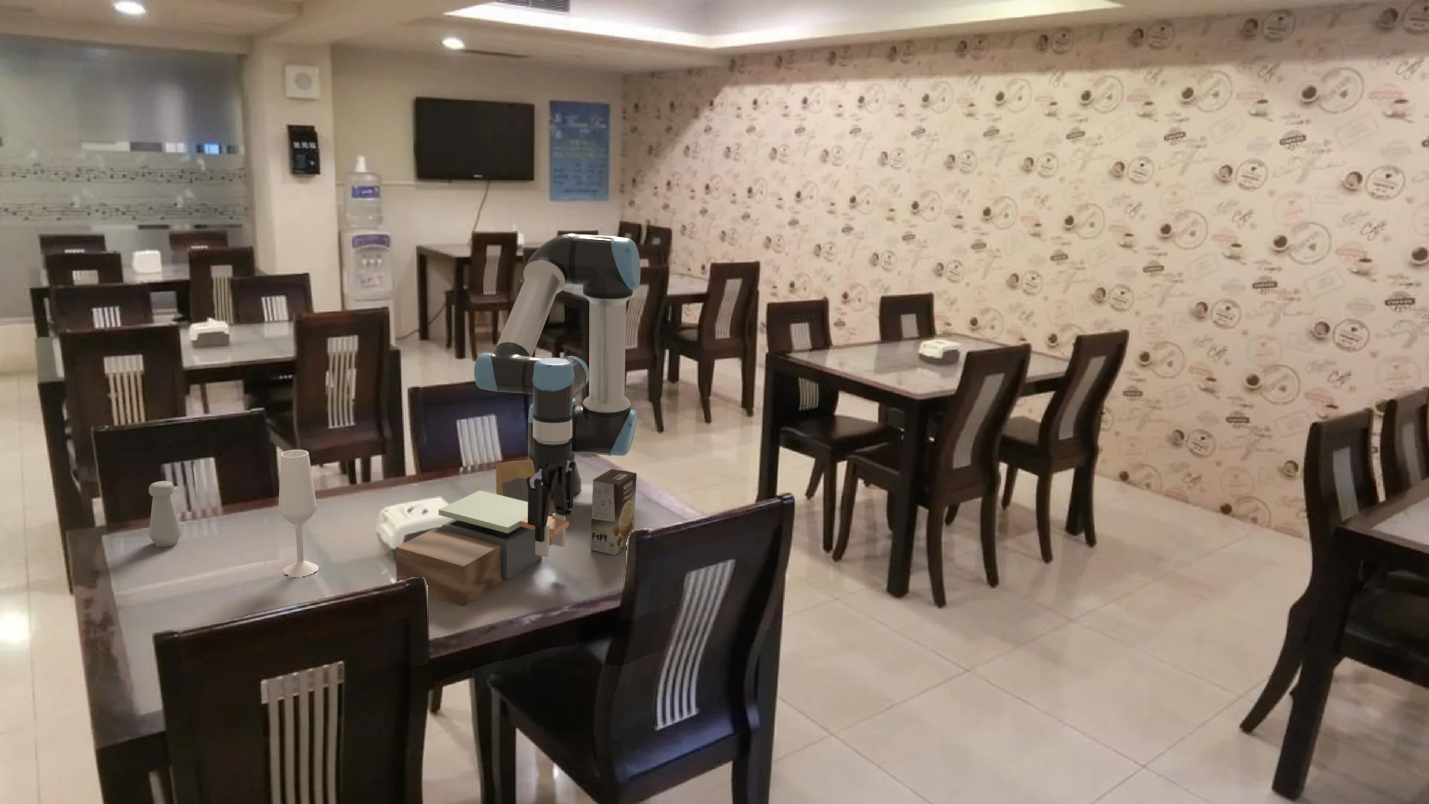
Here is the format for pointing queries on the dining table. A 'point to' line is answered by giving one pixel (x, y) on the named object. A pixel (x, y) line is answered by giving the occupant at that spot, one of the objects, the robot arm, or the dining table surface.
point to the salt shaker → (163, 515)
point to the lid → (496, 513)
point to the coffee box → (612, 510)
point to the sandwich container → (515, 480)
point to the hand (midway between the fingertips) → (550, 549)
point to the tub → (502, 544)
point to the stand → (450, 565)
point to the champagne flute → (297, 503)
